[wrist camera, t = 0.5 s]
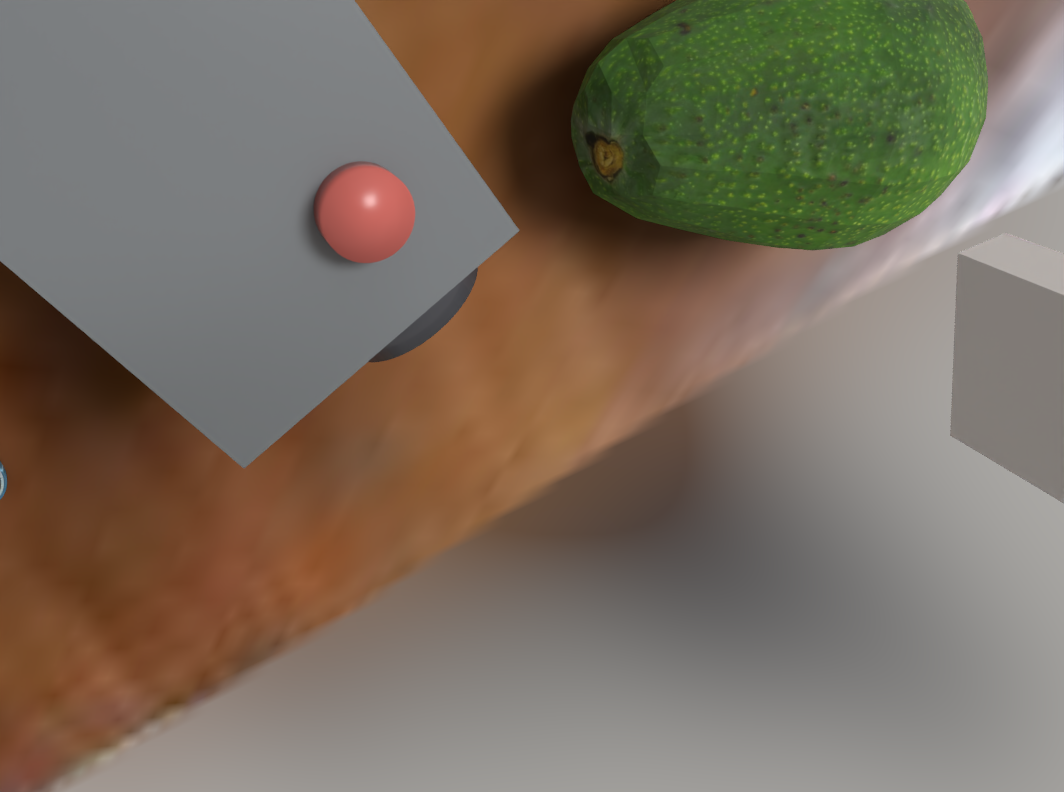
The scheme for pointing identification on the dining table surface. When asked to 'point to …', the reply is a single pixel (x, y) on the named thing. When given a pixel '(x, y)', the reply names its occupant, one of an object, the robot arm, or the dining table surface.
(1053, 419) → the robot arm
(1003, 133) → the dining table surface
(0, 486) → the smartphone
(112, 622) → the dining table surface
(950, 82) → the fruit
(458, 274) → the camera body
